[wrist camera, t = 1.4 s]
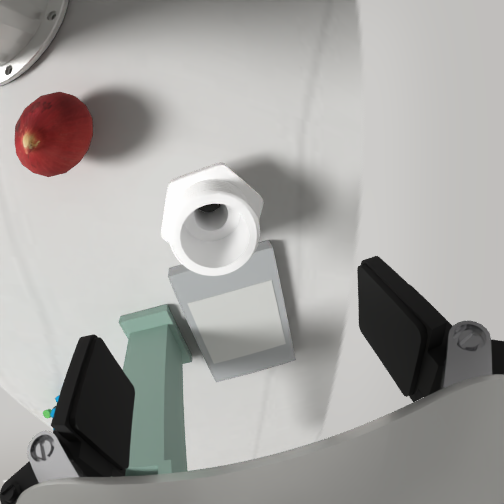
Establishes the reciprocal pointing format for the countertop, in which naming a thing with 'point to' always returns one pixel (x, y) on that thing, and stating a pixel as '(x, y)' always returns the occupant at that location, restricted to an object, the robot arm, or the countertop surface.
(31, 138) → the onion
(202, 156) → the countertop surface
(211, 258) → the pipe fitting
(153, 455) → the press
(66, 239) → the countertop surface
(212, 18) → the countertop surface
